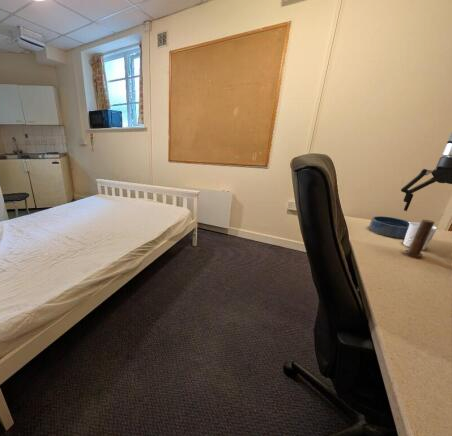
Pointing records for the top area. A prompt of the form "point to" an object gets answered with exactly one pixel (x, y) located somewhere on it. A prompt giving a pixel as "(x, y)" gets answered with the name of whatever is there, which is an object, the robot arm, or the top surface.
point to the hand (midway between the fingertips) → (430, 214)
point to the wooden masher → (420, 239)
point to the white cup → (412, 232)
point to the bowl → (389, 226)
